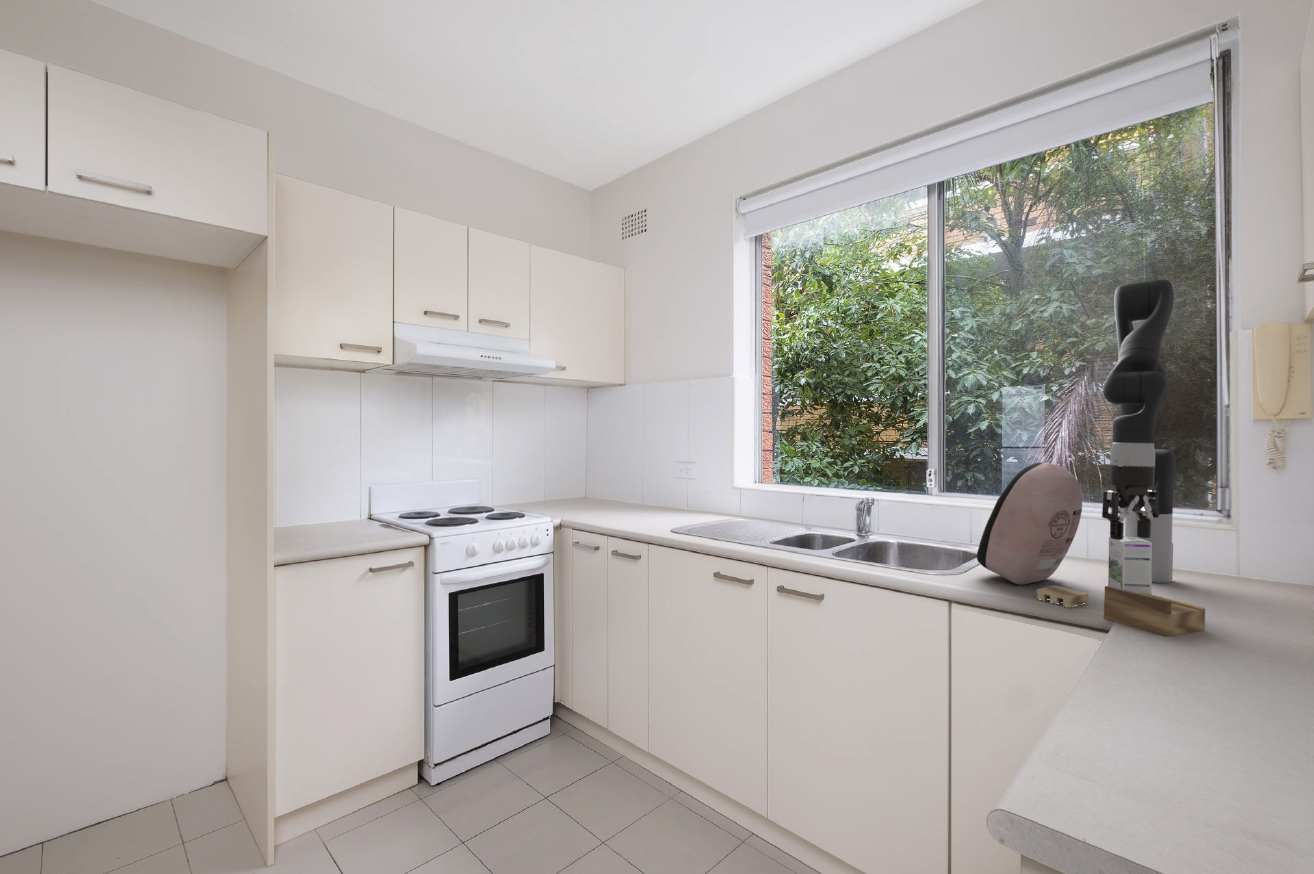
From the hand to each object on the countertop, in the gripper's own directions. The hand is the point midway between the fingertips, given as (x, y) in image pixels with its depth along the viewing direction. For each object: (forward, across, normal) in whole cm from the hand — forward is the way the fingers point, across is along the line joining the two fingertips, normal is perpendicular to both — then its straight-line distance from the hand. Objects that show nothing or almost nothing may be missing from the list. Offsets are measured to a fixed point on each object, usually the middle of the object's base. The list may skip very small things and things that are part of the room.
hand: (1130, 538), depth 127 cm
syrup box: (+15, 0, 0) cm, 15 cm away
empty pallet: (+15, +12, -6) cm, 20 cm away
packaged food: (+15, +3, -21) cm, 26 cm away
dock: (+15, +9, +10) cm, 20 cm away
